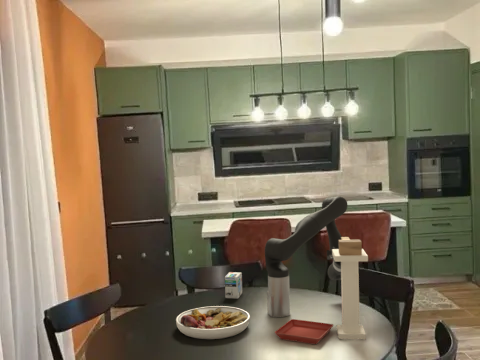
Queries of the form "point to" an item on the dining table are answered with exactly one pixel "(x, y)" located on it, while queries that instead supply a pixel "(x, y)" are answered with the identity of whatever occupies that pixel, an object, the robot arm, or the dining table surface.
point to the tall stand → (350, 295)
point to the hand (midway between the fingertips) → (344, 249)
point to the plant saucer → (303, 331)
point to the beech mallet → (350, 246)
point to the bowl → (213, 322)
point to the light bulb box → (233, 285)
